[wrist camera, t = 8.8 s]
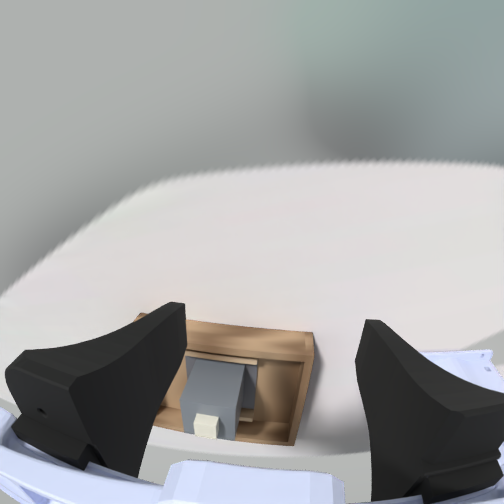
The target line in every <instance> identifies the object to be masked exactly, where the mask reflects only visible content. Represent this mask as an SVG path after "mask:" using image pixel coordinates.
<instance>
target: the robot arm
mask: <svg viewBox="0 0 504 504" xmlns="http://www.w3.org/2000/svg"><path fill="white" fill-rule="evenodd" d="M186 348H187V331H186V314H185V304H184V303H177V302H169V303H167V304H165V305H163V306H161V307H160V308H158V309H156V310H154V311H153V312H151V313H149V314H147V315H146V316H144V317H142V318H140V319H138V320H137V321H135V322H133V323H131V324H129V325H127V326H125V327H123V328H121V329H119V330H116V331H114V332H112V333H109V334H107V335H104V336H101V337H98V338H95V339H92V340H88V341H85V342H81V343H78V344H73V345H68V346H63V347H57V348H49V349H35V350H25V351H23V352H22V353H21V354H20V355H19V356H18V357H17V358H16V359H15V360H14V361H13V362H12V363H11V364H10V365H9V366H8V367H7V368H6V370H5V379H6V383H7V386H8V388H9V390H10V392H11V394H12V396H13V398H14V400H15V402H16V404H17V406H18V408H19V409H20V411H21V413H22V414H21V415H20V416H19V418H18V419H17V418H16V417H15V416H14V415H13V414H12V413H10V412H9V411H7V410H5V409H4V408H2V407H0V489H1V490H2V491H4V492H5V493H7V494H8V495H9V496H11V497H12V498H13V499H15V500H16V501H18V502H19V503H21V504H345V492H344V482H343V481H342V480H340V479H338V478H336V477H335V476H333V475H331V474H329V473H323V472H317V471H310V470H287V469H272V468H260V467H251V466H242V465H234V464H227V463H220V462H214V461H208V460H207V461H206V460H185V461H182V462H179V463H175V464H172V465H171V467H170V470H169V473H168V475H167V478H166V481H165V483H164V485H160V484H156V483H152V482H149V481H145V480H141V479H138V474H139V470H140V466H141V462H142V459H143V455H144V452H145V448H146V445H147V442H148V439H149V435H150V432H151V429H152V426H153V423H154V421H155V418H156V415H157V412H158V410H159V407H160V405H161V403H162V401H163V399H164V397H165V395H166V393H167V391H168V389H169V387H170V385H171V383H172V381H173V380H174V378H175V376H176V374H177V372H178V370H179V368H180V365H181V363H182V360H183V357H184V354H185V351H186ZM492 355H493V352H492V350H491V349H487V350H473V351H453V352H418V351H417V350H415V349H414V348H413V347H412V346H410V345H409V344H408V343H407V342H406V341H404V340H403V339H402V338H401V337H400V336H399V335H398V334H396V333H395V332H394V331H393V330H392V329H391V328H390V327H388V326H387V325H386V324H385V323H383V322H382V321H381V320H369V319H366V320H365V324H364V328H363V332H362V336H361V340H360V344H359V348H358V351H357V355H356V358H355V365H356V374H357V382H358V386H359V390H360V394H361V398H362V402H363V406H364V410H365V414H366V419H367V423H368V429H369V436H370V448H371V467H372V493H371V502H364V503H349V504H504V379H503V378H502V376H501V375H500V373H499V372H498V370H497V369H496V368H495V366H494V365H493V363H492V362H491V361H490V360H491V357H492Z"/></svg>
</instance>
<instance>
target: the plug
mask: <svg viewBox="0 0 504 504" xmlns="http://www.w3.org/2000/svg"><path fill="white" fill-rule="evenodd" d="M244 374H245V365H244V364H235V363H227V362H219V361H212V360H205V359H198V358H197V359H196V361H195V363H194V366H193V368H192V371H191V373H190V375H189V378H188V380H187V382H186V385H185V387H184V390H183V392H182V394H181V397H180V399H179V401H180V408H181V414H182V421H183V427H184V433H189V434H194V435H195V436H198V437H204V438H209V439H216V440H217V438H218V439H224V440H231V441H235V437H236V433H237V428H238V423H239V418H240V413H241V408H242V402H243V395H244Z"/></svg>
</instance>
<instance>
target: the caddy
mask: <svg viewBox="0 0 504 504" xmlns="http://www.w3.org/2000/svg"><path fill="white" fill-rule="evenodd" d="M146 315H147V314H145V313H140V314H139V315H138V316H137V318H136V319H135V320H134V321H133V322H135V321H137V320H138V319H140V318H142V317H144V316H146ZM186 331H187V348H186V351H185V354H184V357H183V360H182V363H181V365H180V368H179V370H178V372H177V374H176V376H175V378H174V380H173V381H172V383H171V385H170V387H169V389H168V391H167V393H166V395H165V397H164V399H163V401H162V403H161V405H160V407H159V410H158V412H157V415H156V418H155V421H154V423H153V426H158V427H162V428H166V429H171V430H175V431H180V432H184V427H183V421H182V414H181V408H180V401H179V399H180V397H181V394H182V392H183V390H184V387H185V385H186V382H187V380H188V378H189V375H190V373H191V371H192V368H193V366H194V363H195V361H196V359H197V358H198V359H205V360H212V361H219V362H227V363H235V364H244V365H245V374H244V395H243V402H242V408H241V413H240V418H239V423H238V428H237V433H236V437H235V441H241V442H249V443H259V444H270V445H283V446H294V444H295V440H296V436H297V432H298V428H299V424H300V420H301V416H302V411H303V407H304V403H305V398H306V394H307V389H308V385H309V380H310V375H311V371H312V366H313V361H314V345H313V333H312V332H299V331H286V330H274V329H263V328H253V327H243V326H234V325H225V324H217V323H208V322H201V321H193V320H186Z"/></svg>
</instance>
